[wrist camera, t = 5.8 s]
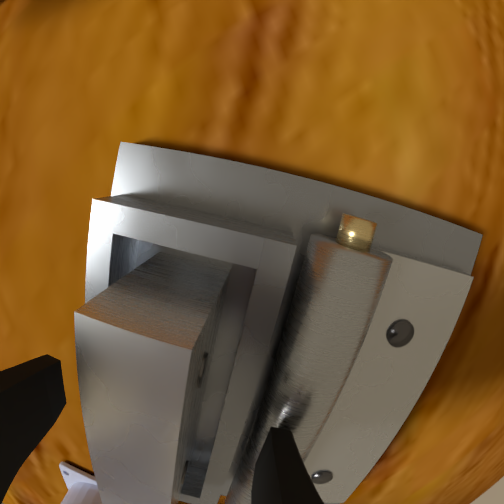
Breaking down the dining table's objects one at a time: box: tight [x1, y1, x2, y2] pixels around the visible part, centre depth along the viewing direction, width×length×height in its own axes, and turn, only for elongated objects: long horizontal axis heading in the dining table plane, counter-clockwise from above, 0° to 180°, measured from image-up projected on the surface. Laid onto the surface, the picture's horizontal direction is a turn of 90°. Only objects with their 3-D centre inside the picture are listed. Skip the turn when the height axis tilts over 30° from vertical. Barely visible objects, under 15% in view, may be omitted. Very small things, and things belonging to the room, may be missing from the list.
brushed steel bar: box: [74, 252, 230, 504], centre depth 9 cm, size 9×2×5 cm, turn 167°
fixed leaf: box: [85, 142, 483, 504], centre depth 10 cm, size 16×13×3 cm
